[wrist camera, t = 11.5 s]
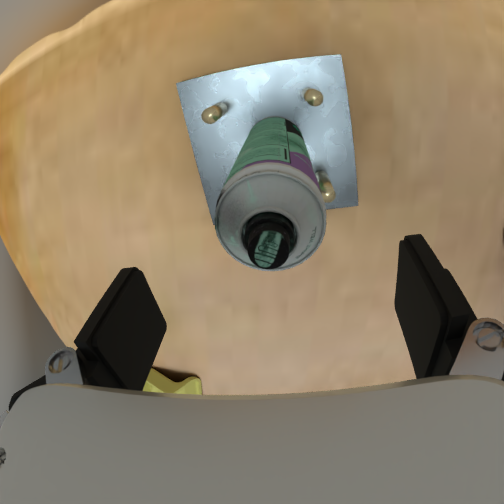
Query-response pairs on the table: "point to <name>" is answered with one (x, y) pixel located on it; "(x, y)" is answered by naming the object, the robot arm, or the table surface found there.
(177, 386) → the plastic component
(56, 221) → the table surface
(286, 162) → the spray can
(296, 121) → the post plate
